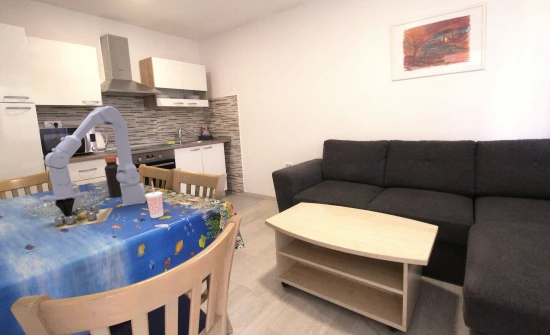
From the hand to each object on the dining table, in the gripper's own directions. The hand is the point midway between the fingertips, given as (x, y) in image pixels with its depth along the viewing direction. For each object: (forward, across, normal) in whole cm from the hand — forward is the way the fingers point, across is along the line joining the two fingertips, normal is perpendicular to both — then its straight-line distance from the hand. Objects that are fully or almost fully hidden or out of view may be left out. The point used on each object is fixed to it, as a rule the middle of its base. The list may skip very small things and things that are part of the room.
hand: (69, 217), depth 103 cm
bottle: (+2, +12, +33) cm, 35 cm away
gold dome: (+1, +4, 0) cm, 5 cm away
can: (+2, -4, +17) cm, 17 cm away
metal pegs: (+1, +4, 0) cm, 4 cm away
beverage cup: (+2, +32, -11) cm, 33 cm away
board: (+2, +6, 0) cm, 6 cm away
